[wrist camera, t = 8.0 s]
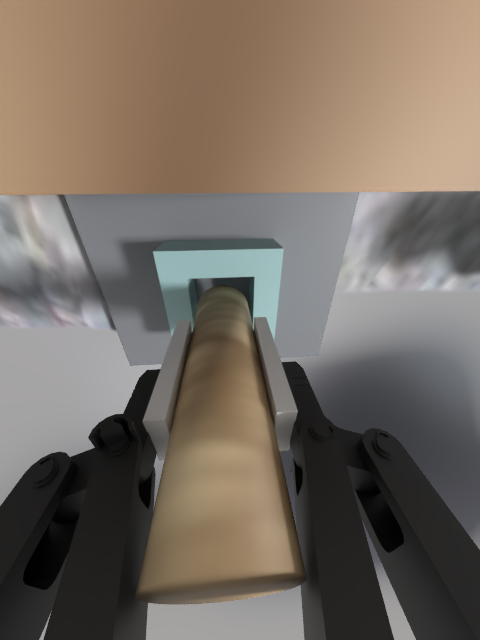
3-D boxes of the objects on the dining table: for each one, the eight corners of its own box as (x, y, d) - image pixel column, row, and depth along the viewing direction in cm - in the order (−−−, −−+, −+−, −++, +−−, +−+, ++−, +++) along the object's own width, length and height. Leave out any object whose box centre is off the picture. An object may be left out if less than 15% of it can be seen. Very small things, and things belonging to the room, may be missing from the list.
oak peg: (201, 329, 18) (156, 609, 6) (195, 286, 16) (109, 584, 4) (247, 327, 18) (294, 593, 6) (248, 284, 16) (322, 562, 4)
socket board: (133, 359, 25) (117, 390, 21) (17, 48, 12) (-78, -18, 8) (314, 350, 26) (330, 377, 22) (384, 58, 13) (450, 6, 9)
